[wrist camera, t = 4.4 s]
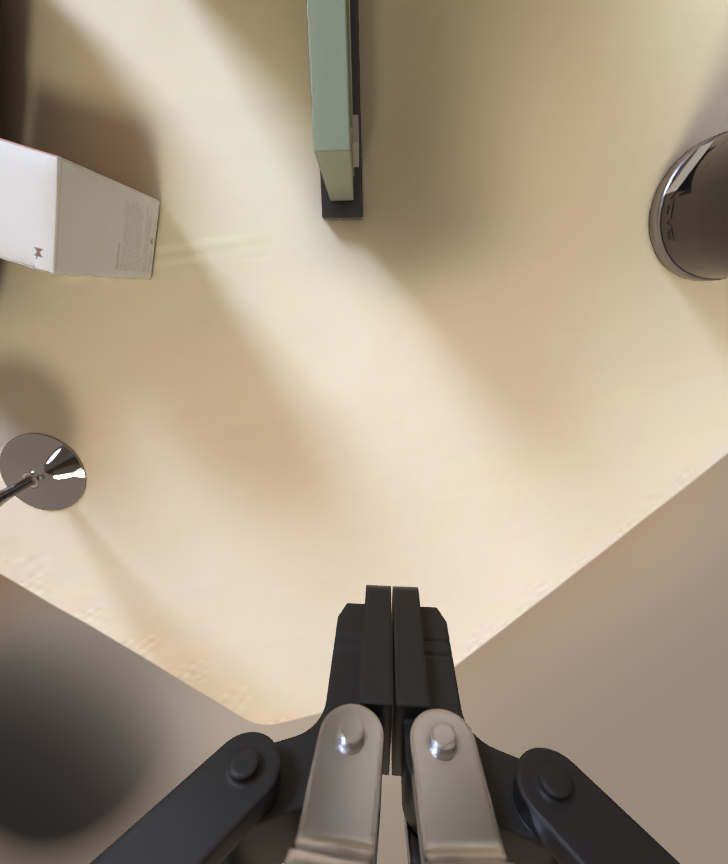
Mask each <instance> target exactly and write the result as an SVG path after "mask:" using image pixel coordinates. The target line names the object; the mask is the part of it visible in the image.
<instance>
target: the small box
mask: <svg viewBox="0 0 728 864" xmlns="http://www.w3.org/2000/svg"><path fill="white" fill-rule="evenodd" d="M159 205H160V201H159V200H157V199H155V198H153V197H151V196H148V195H146V194H144V193H142V192H139V191H137V190H135V189H133V188H130V187H128V186H126V185H123V184H121V183H119V182H117V181H114V180H112V179H110V178H107V177H105V176H103V175H100V174H98V173H96V172H94V171H91V170H89V169H87V168H84V167H82V166H80V165H78V164H75V163H73V162H71V161H69V160H67V159H64V158H62V157H60V156H57V155H54V154H51V153H47V152H44V151H41V150H37V149H34V148H31V147H28V146H24V145H21V144H18V143H15V142H11V141H8V140H5V139H2V138H0V259H4V260H7V261H11V262H14V263H18V264H21V265H24V266H27V267H30V268H33V269H36V270H39V271H42V272H45V273H48V274H51V275H61V276H83V277H98V278H116V279H140V280H150V279H151V272H152V264H153V256H154V247H155V239H156V230H157V222H158V214H159Z"/></svg>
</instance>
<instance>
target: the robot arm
mask: <svg viewBox="0 0 728 864" xmlns="http://www.w3.org/2000/svg"><path fill="white" fill-rule="evenodd" d="M650 236H651V242H652V245H653V248H654V251H655V253H656V255H657V257H658V258H659V260H660V261H661V263H662V264H663V265H664V266H665V267H666V268H667V269H668V270H669V271H671V272H672V273H674V274H675V275H677V276H679V277H682V278H685V279H689V280H695V281H709V280H721V279H726V278H728V131H727V132H723V133H721V134H718V135H716V136H714V137H712V138H709V139H707V140H705V141H703V142H701V143H699V144H697V145H696V146H694V147H693V148H691V149H690V150H689V151H687V152H686V153H685V154H684V155H683V156H682V157H680V158H679V160H678V161H677V162H676V163H675V164H674V165H673V166H672V167H671V169H670V170H669V171H668V173H667V174H666V176H665V177H664V179H663V181H662V182H661V184H660V186H659V188H658V190H657V193H656V195H655V198H654V201H653V204H652V209H651V215H650ZM391 742H392V775H396V776H401V784H402V806H403V812H404V825H405V835H406V846H407V856H408V864H680V863H679V862H678V861H677V860H676V859H674V858H673V857H672V856H671V855H670V854H669V853H668V852H667V851H666V850H665V849H664V848H663V847H662V846H661V845H659V843H657V842H656V841H655V840H654V839H653V838H652V837H651V836H650V835H649V834H648V833H647V832H646V831H645V830H644V829H643V828H641V826H639V825H638V824H637V823H636V822H635V821H634V820H633V819H632V818H631V817H630V816H629V815H628V814H627V813H626V812H625V811H623V809H621V808H620V807H619V806H618V805H617V804H616V803H615V802H614V801H613V800H612V799H611V798H610V797H609V796H608V795H607V794H605V793H604V792H603V791H602V790H601V789H600V788H599V787H598V786H597V785H596V784H595V783H594V782H593V781H592V780H591V779H589V777H587V776H586V775H585V774H584V773H583V772H582V771H581V770H580V769H579V768H578V767H577V766H575V764H574V763H573V762H571V761H570V760H569V759H568V758H566V757H565V756H563V755H562V754H560V753H558V752H556V751H553V750H550V749H546V748H534V749H530V750H528V751H526V752H525V753H524V754H523V755H522V756H521V757H520V759H519V758H516V757H514V756H511V755H509V754H506V753H504V752H501V751H499V750H496V749H494V748H492V747H490V746H488V745H487V744H485V743H484V742H482V741H481V740H480V739H479V738H477V737H476V735H475V734H474V733H473V732H472V730H471V729H470V727H469V726H468V724H467V723H466V722H465V720H464V717H463V715H462V710H461V705H460V700H459V693H458V688H457V681H456V676H455V670H454V664H453V658H452V652H451V646H450V642H449V634H448V628H447V623H446V621H445V619H444V618H443V616H442V615H441V613H440V612H439V610H438V609H437V608H434V607H420V601H419V591H418V587H396V586H393V592H392V613H391V586H377V585H366V597H365V604H351V603H347V604H346V606H345V607H344V609H343V610H342V612H341V613H340V615H339V616H338V621H337V628H336V637H335V643H334V650H333V657H332V664H331V672H330V679H329V686H328V693H327V701H326V705H325V709H324V711H323V713H322V715H321V717H320V719H319V720H318V721H317V723H316V724H315V725H314V726H313V727H312V728H310V729H309V730H307V731H306V732H304V733H303V734H300V735H298V736H295V737H292V738H289V739H285V740H282V741H279V742H275V743H274V742H273V740H271V739H270V738H269V737H268V736H266V735H264V734H261V733H257V732H248V733H244V734H240V735H238V736H236V737H234V738H232V739H230V740H229V741H228V742H226V743H225V744H224V745H223V746H222V747H221V748H220V749H219V750H217V751H216V752H215V753H214V754H213V755H212V756H211V757H209V758H208V759H207V760H206V761H205V762H204V763H203V764H202V765H201V766H200V767H198V768H197V769H196V770H195V771H194V772H193V773H191V774H190V775H189V776H188V777H187V778H186V779H185V780H184V781H182V782H181V783H180V784H179V785H178V786H177V787H176V788H175V789H173V790H172V791H171V792H170V793H169V794H168V795H167V796H166V797H164V799H162V800H161V801H160V802H159V803H158V804H157V805H155V806H154V807H153V808H152V809H151V810H150V811H149V812H148V813H146V815H144V816H143V817H142V818H141V819H140V820H139V821H138V822H136V823H135V824H134V825H133V826H132V827H131V828H130V829H128V830H127V831H126V832H125V833H124V834H123V835H122V836H121V837H119V838H118V839H117V840H116V841H115V842H114V843H113V844H112V845H110V846H109V847H108V848H107V849H106V850H105V851H104V852H103V853H101V854H100V855H99V856H98V857H97V858H96V859H95V860H93V861H92V862H91V863H90V864H282V863H284V864H377V853H378V840H379V826H380V809H381V785H382V774H383V775H389V765H390V764H389V763H390V745H391Z"/></svg>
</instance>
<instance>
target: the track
mask: <svg viewBox="0 0 728 864" xmlns="http://www.w3.org/2000/svg"><path fill="white" fill-rule="evenodd" d="M350 28H351V66H352V103H353V115H358V129H359V167H354V176H353V195H354V199H353V200H343V201H330V198H329V195H328V192H327V189H326V186H325V182H324V179H323V176H322V173H321V170H320V176H321V196H322V217H323V219H324V220H361V219H362V218H363V204H362V157H361V111H360V64H359V17H358V0H350Z"/></svg>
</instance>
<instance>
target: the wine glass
mask: <svg viewBox="0 0 728 864" xmlns="http://www.w3.org/2000/svg"><path fill="white" fill-rule="evenodd" d="M0 472H1V475H2V478H3V480H4V482H5V484H6V486H7V488H4V489H2V490H0V507H1V506H2V505H4V504H5V503H6V502H7V501H9V500H10V499H11V498H12V497H14V496H16V497H17V498H19V499H20V500H22V501H23V502H25V503H27V504H28V505H30V506H33V507H35V508H39V509H43V510H60V509H65V508H67V507H70V506H72V505H73V504H75V503H76V502H77V501H78V500H79V499H80V498H81V496H82V494H83V492H84V489H85V485H86V477H85V472H84V468H83V466H82V464H81V462H80V460H79V459H78V457H77V456H76V454H75V453H74V452H73V451H72V450H71V449H70V448H69V447H67V446H66V445H65V444H64V443H62V442H60V441H58V440H57V439H54V438H52V437H50V436H46V435H42V434H25V435H21V436H18V437H16V438H14V439H12V440H11V441H10V442H9V443H8V444H7V445H6V446H5V447H4V449H3V451H2V453H1V456H0Z"/></svg>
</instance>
